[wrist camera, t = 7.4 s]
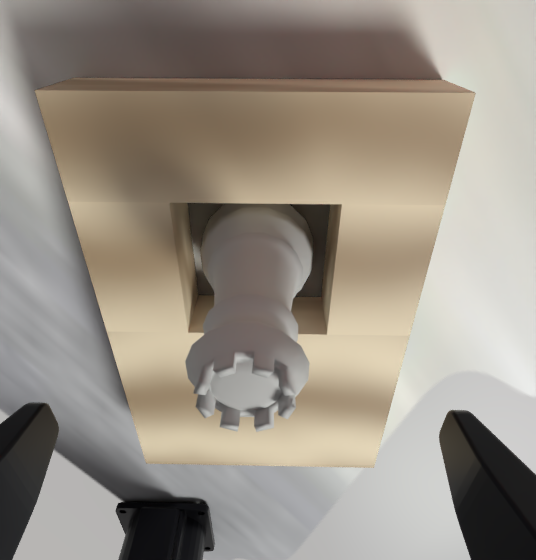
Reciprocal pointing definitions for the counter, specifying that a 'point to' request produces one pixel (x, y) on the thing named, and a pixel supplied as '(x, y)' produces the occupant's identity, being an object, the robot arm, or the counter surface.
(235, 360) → the rook chess piece
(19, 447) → the robot arm
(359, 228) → the socket block
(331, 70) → the counter surface
